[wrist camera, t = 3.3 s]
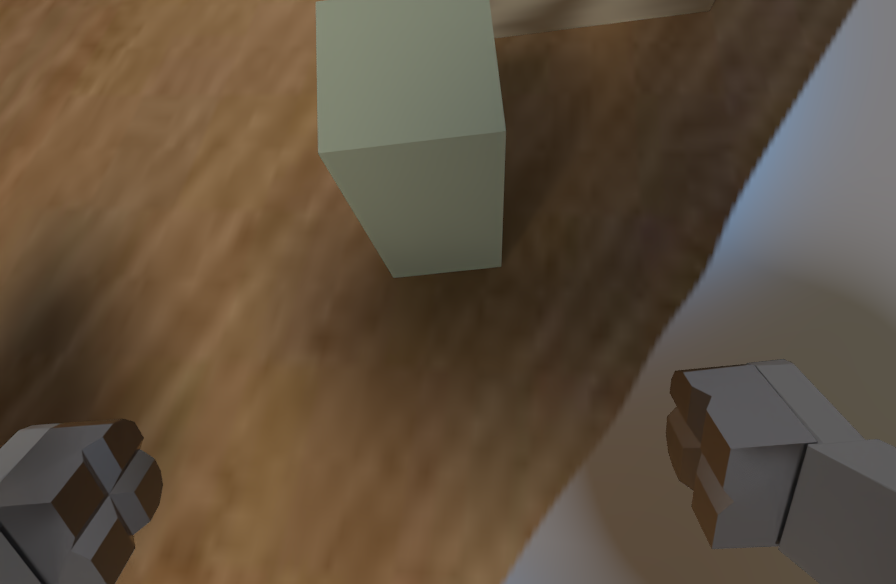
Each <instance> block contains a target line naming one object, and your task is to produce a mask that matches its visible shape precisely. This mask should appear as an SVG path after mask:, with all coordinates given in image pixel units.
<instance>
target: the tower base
mask: <svg viewBox="0 0 896 584" xmlns="http://www.w3.org/2000/svg"><path fill="white" fill-rule="evenodd" d="M714 1H715V0H489V2H490V10H491V17H492V25H493V33H494V38H502V37H509V36H517V35H525V34H533V33H541V32H549V31H557V30H564V29H572V28H580V27H588V26H596V25H604V24H611V23H619V22H627V21H635V20H643V19H651V18H659V17H666V16H674V15H682V14H690V13H698V12H706V11H710V9H711V7H712V5H713V3H714Z"/></svg>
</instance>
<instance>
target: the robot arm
mask: <svg viewBox="0 0 896 584" xmlns="http://www.w3.org/2000/svg"><path fill="white" fill-rule="evenodd" d="M670 394H671V396H672V398H673V400H674V402H675V404H676V405H677V407H676V408H675V409H674V410H673V411H672V412H671V413H670V414H669V415H668V416H667V426H666V438H667V446H668V453H669V456H670V459H671V463H672V466H673V468H674V470H675V473H676V475H677V477H678V479H679V481H680V482H682V483H683V484H685V485H686V486H687V487H689V488H690V489H692V490H693V491H694V492H693V500H692V509H693V511H694V513H695V515H696V517H697V519H698V521H699V523H700V526H701V528H702V530H703V532H704V534H705V536H706V538H707V540H708V542H709V544H710V546H711V548H712V549H722V548H746V547H771V546H779V548H778V550H779V551H781V552H782V553H783V554H784V555H786V556H787V557H788V558H789V559H790V560H792V561H793V562H794V563H795V564H797V565H798V566H799V567H800V568H801V569H803V570H804V571H805V572H806V573H807V574H809V575H810V576H811V577H812V578H814V579H815V580H816V581H817V582H818V583H820V584H896V447H894V446H892V445H890V444H888V443H885V442H883V441H881V440H879V439H874V440H865V439H864V438H863V437H862V436H861V435H860V434H859V433H858V431H857V430H855V428H854V427H853V426H852V425H851V424H850V423H849V422H848V421H847V420H846V419H845V418H844V417H843V416H842V415H841V413H840V412H839V411H838V410H836V408H835V407H834V406H833V405H832V404H831V403H830V402H829V401H828V400H827V399H826V398H825V397H824V395H823V394H822V393H821V392H820V391H819V390H818V389H817V388H816V387H815V386H814V385H813V384H812V383H811V382H810V381H809V380H808V379H807V377H806V376H805V375H804V374H803V373H802V372H801V371H800V370H799V369H798V368H797V367H796V366H795V365H794V364H793V363H792V362H789V361H787V360H785V359H780V360H771V361H762V362H753V363H747V364H745V365H732V366H721V367H711V368H700V369H689V370H678V371H675V372H674V375H673V377H672V379H671V387H670ZM143 439H144V437H143V436H142V434H141V432H140V430H139V429H138V427H137V425H136V424H135V422H133V421H130V420H126V419H112V420H96V421H80V422H65V423H61V424H42V425H32V426H29V427H26V428H24V429H21V430H18V431H17V432H16V433H15V434H14V435H13V436H12V437H11V438H10V439H9V440H8V441H7V442H6V443H5V444H4V445H3V446H2V447H1V448H0V584H115V582H116V581H117V579H118V577H119V575H120V574H121V572H122V570H123V568H124V567H125V565H126V563H127V561H128V560H129V558H130V556H131V554H132V553H133V551H134V549H135V543H134V538H133V535H134V534H135V533H136V532H137V531H139V530H140V529H141V528H142V527H144V526H145V525H146V524H147V523H149V522H150V521H151V519H152V517H153V515H154V513H155V512H156V510H157V508H158V506H159V504H160V498H161V493H162V487H163V482H162V476H161V470H160V468H159V466H158V464H157V462H156V460H155V459H154V458H153V457H151V456H150V455H148V454H147V453H145V452H143V451H142V450H140V447H141V444H142V441H143Z"/></svg>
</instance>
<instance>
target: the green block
mask: <svg viewBox="0 0 896 584" xmlns="http://www.w3.org/2000/svg"><path fill="white" fill-rule="evenodd" d="M316 50H317V113H318V154H319V156H320V157H321V159H322V161H323V162H324V164H325V166H326V167H327V169H328V171H329V172H330V174H331V176H332V177H333V179H334V180H335V182H336V184H337V185H338V187H339V189H340V190H341V192H342V194H343V195H344V197H345V199H346V200H347V202H348V204H349V205H350V207H351V209H352V210H353V212H354V214H355V215H356V217H357V219H358V220H359V222H360V223H361V225H362V227H363V228H364V230H365V232H366V233H367V235H368V237H369V238H370V240H371V242H372V243H373V245H374V247H375V248H376V250H377V252H378V253H379V255H380V257H381V258H382V260H383V262H384V263H385V265H386V266H387V268H388V270H389V271H390V273H391V275H392V276H393V278H399V277H408V276H418V275H427V274H437V273H447V272H456V271H466V270H475V269H485V268H495V267H501V261H502V232H503V203H504V175H505V146H506V127H505V119H504V111H503V104H502V96H501V88H500V80H499V72H498V64H497V57H496V49H495V41H494V33H493V25H492V17H491V10H490V2H489V0H326V1H319V2H316Z"/></svg>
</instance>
